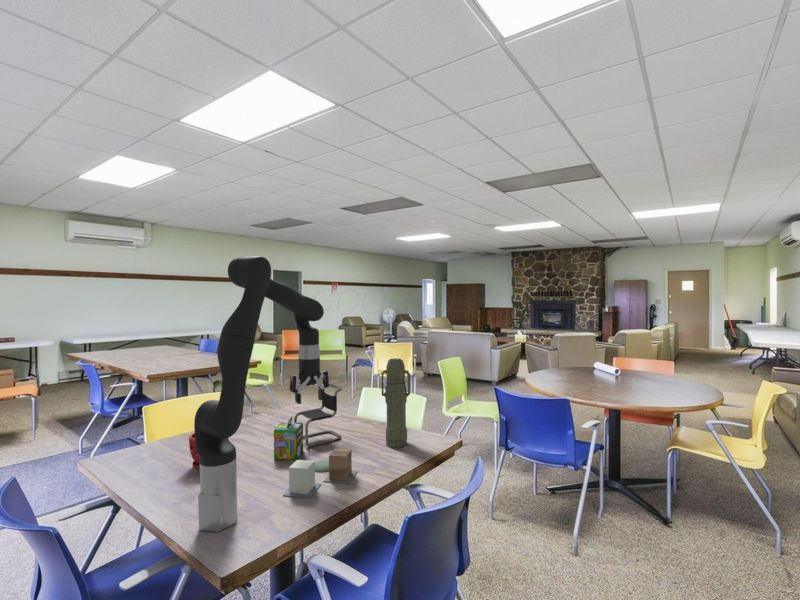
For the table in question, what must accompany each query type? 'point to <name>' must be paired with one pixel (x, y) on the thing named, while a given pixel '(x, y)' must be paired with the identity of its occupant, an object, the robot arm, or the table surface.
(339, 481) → the tile
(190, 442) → the plant pot
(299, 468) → the sage block
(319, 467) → the rubber coaster
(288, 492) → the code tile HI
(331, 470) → the walnut block
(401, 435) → the thermos
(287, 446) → the chalk box
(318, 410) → the chair
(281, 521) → the table surface
